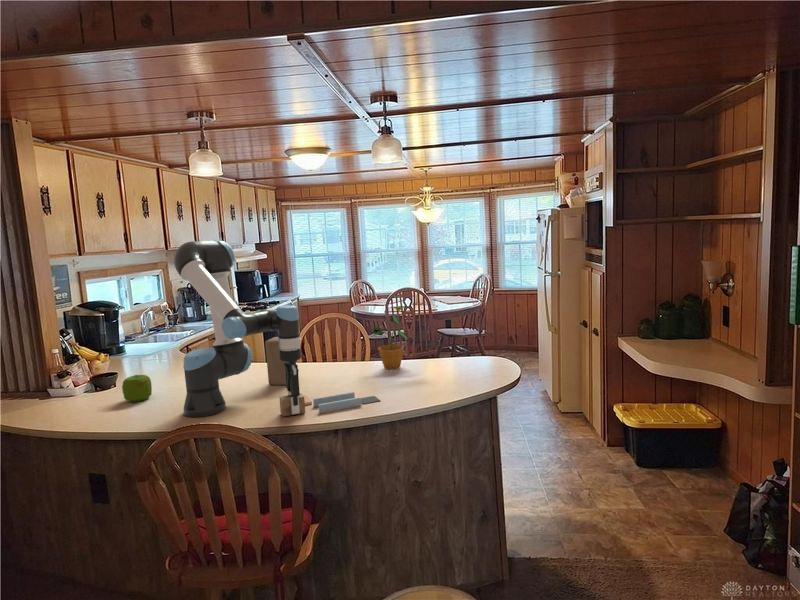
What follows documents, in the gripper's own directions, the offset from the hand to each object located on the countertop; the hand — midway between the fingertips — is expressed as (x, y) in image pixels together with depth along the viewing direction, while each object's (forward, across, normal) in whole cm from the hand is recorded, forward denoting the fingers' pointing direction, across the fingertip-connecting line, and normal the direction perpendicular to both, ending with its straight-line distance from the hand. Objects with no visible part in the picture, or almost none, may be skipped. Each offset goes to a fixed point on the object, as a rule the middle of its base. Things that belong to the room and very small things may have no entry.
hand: (294, 411), depth 193 cm
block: (+1, 0, 0) cm, 1 cm away
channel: (+1, 0, -16) cm, 16 cm away
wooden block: (+2, +46, -4) cm, 46 cm away
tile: (+1, +12, -3) cm, 13 cm away
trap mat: (+1, 0, -29) cm, 29 cm away
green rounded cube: (+2, +54, +55) cm, 77 cm away
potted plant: (+1, +42, -55) cm, 69 cm away
